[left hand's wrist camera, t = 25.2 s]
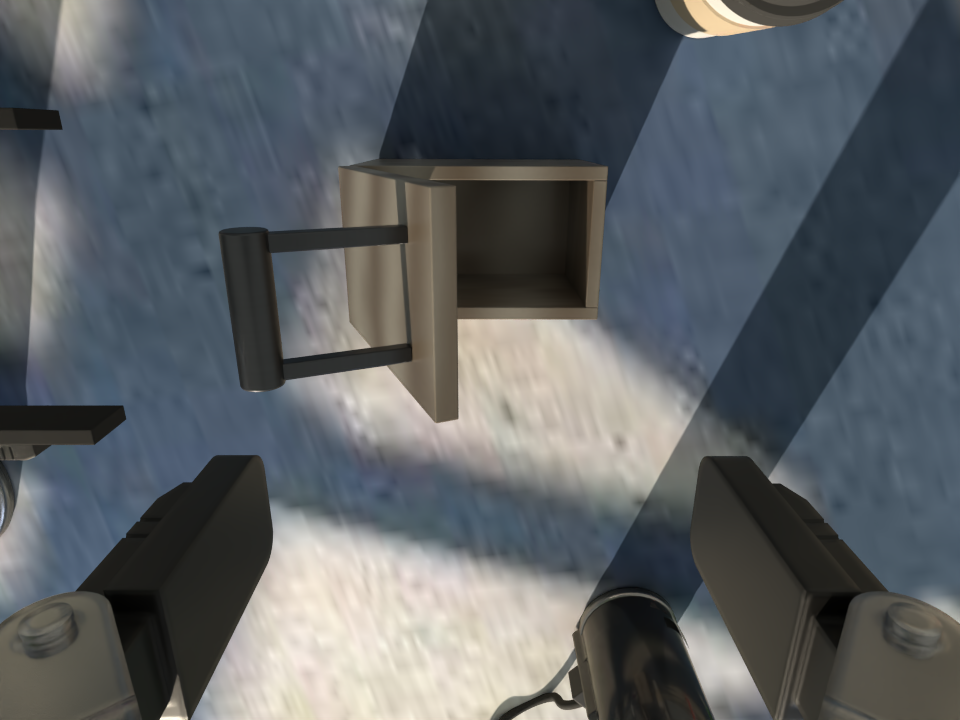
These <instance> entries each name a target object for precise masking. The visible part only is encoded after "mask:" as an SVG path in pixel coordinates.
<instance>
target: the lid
mask: <svg viewBox="0 0 960 720" xmlns="http://www.w3.org/2000/svg"><path fill="white" fill-rule="evenodd" d="M338 169H339V183H340V197H341V210H342V224H343V228H326V229H308V230H290V231H272V232H269V231H268V229H265V228H260V227H238V228H229V229H224V230H221V231H219V240H220V247H221V254H222V261H223V268H224V275H225V282H226V289H227V296H228V303H229V310H230V317H231V324H232V331H233V338H234V345H235V352H236V359H237V366H238V373H239V380H240V386H241V388H242V389H243V390H245V391H249V392H265V391H270V390H274V389H277V388H279V387H281V386H283V385H284V384H285V381H286V380H290V379H297V378H304V377H311V376H317V375H324V374H331V373H338V372H345V371H352V370H359V369H366V368H372V367H379V366H386V365H387V367H388V368H389V369H390V370H391V371H392V372H393V374H394V375H395V376H396V377H397V378H398V380H399V381H400V382H401V383H402V384H403V385H404V387H405V388H406V389H407V390H408V391H409V392H410V394H411V395H412V396H413V397H414V398H415V400H416V401H417V402H418V403H419V404H420V405H421V407H422V408H423V409H424V410H425V411H426V413H427V414H428V415H429V416H430V417H431V418H432V420H433V421H434V422H435V423H440V422H446V421H451V420H456V419H458V332H457V234H456V186H455V185H451V184H446V183H440V182H435V181H430V180H425V179H420V178H415V177H409V176H404V175H399V174H394V173H389V172H384V171H379V170H373V169H368V168H363V167H358V166H339V167H338ZM337 248H344V251H345V265H346V278H347V292H348V305H349V319H350V323H351V324H352V325H353V327H354V328H355V329H356V330H357V331H358V332H359V334H360V335H361V336H362V337H363V338H364V339H365V341H366V342H367V343H368V344H369V345H370V347H371V348H365V349H358V350H350V351H343V352H335V353H328V354H320V355H313V356H305V357H298V358H290V359H283V352H282V343H281V335H280V326H279V317H278V309H277V300H276V291H275V283H274V274H273V265H272V256H271V253H278V252H293V251H307V250H322V249H337Z"/></svg>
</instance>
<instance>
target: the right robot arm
mask: <svg viewBox="0 0 960 720" xmlns="http://www.w3.org/2000/svg"><path fill="white" fill-rule="evenodd" d="M0 130H63V129H62V125H61V120H60V116H59V111H57V110H40V109H24V108H0ZM125 420H126V416H125V411H124V407H123V406H0V460H28V459H30V458H33V457H36V456H37V455H38V454H40V453H41V452H42V451H44V450H45V449H47V448H48V447H49V446H51V445H95V444H96V443H97V442H99V441H100V440H101V439H102V438H103V437H105V436H106V435H107V434H108V433H110V432H111V431H112V430H113V429H115V428H116V427H117V426H118V425H120V424H121V423H122V422H123V421H125ZM13 510H14V493H13V488H12V484H11V481H10V478H9V476H8V474H7V472H6V470H5V468H4V466H3V464H2V463H1V461H0V536H1V535H2V534H3V533H4V532H5V530H6V529H7V527H8V525H9V523H10V521H11V518H12V515H13Z"/></svg>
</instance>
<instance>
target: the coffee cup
mask: <svg viewBox="0 0 960 720" xmlns="http://www.w3.org/2000/svg"><path fill="white" fill-rule="evenodd" d="M842 1H844V0H655V2H656V5H657V8H658V11H659V13H660V15H661V16H662V18H663V19H664V21H665V22H666V23H667V24H668V25H669V26H670V27H671V28H672V29H673V30H675V31H676V32H678V33H680V34H682V35H684V36H688V37H692V38H706V37H711V36H725V35H732V34H738V33H744V32H749V31H755V30H761V29H766V28H772V27H776V26H790V25H795V24H799V23H803V22H806V21H809V20H811V19H813V18H816V17H818V16H820V15H821V14H823V13H825V12H827V11H828V10H829V9H831V8H833V7H834V6H836V5H838V4H839V3H841V2H842Z"/></svg>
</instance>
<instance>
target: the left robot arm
mask: <svg viewBox="0 0 960 720" xmlns="http://www.w3.org/2000/svg"><path fill="white" fill-rule="evenodd" d="M690 542H691V550H692V555H693V559H694V562H695V564H696V567H697V569H698V571H699V573H700V575H701V577H702V579H703V581H704V583H705V585H706V587H707V589H708V591H709V593H710V595H711V597H712V599H713V601H714V603H715V605H716V607H717V609H718V610H719V612H720V614H721V616H722V618H723V620H724V622H725V624H726V626H727V628H728V630H729V632H730V634H731V636H732V638H733V640H734V642H735V644H736V646H737V648H738V650H739V652H740V654H741V656H742V658H743V660H744V662H745V664H746V666H747V668H748V670H749V672H750V674H751V676H752V678H753V680H754V682H755V684H756V686H757V688H758V690H759V692H760V694H761V696H762V698H763V700H764V702H765V704H766V706H767V708H768V710H769V712H770V714H771V716H772V718H773V720H960V624H959V623H958V622H957V621H956V620H954V619H953V618H952V617H950V616H949V615H947V614H946V613H944V612H942V611H941V610H939V609H937V608H935V607H933V606H931V605H929V604H927V603H925V602H923V601H920V600H918V599H915V598H912V597H909V596H906V595H902V594H897V593H892V592H889V591H888V590H887V589H886V588H885V587H884V586H883V585H882V584H881V583H880V581H879V580H878V579H877V578H876V577H875V576H874V575H873V574H872V572H871V571H870V570H869V569H868V568H867V567H866V566H865V565H864V564H863V562H862V561H861V560H860V559H859V558H858V557H857V556H856V555H855V553H854V552H853V551H852V550H851V549H850V548H849V547H848V546H847V545H846V543H845V542H844V541H843V540H839V538H838V534H837V533H836V532H835V531H834V530H833V529H832V528H831V527H830V526H829V524H828V523H824V519H823V518H822V517H821V515H820V514H819V513H818V512H817V511H816V510H815V509H814V508H813V507H812V505H811V504H810V503H809V502H808V501H807V500H806V499H804V498H803V497H801V496H799V495H798V494H796V493H795V492H793V491H791V490H790V489H788V488H787V487H785V486H783V485H782V484H772V483H771V482H770V481H769V480H768V478H767V477H766V476H765V475H764V474H763V472H762V471H761V470H760V469H759V468H758V466H757V465H756V464H755V463H754V462H753V460H752V459H751V458H749V457H747V456H706V457H704V458H703V459H702V461H701V463H700V466H699V472H698V479H697V486H696V493H695V500H694V507H693V514H692V522H691V529H690ZM272 543H273V527H272V519H271V512H270V505H269V497H268V490H267V483H266V476H265V469H264V464H263V461H262V459H261V457H260V456H258V455H216V456H214V457H213V458H212V459H211V460H210V461H209V463H208V464H207V465H206V466H205V467H204V469H203V470H202V471H201V472H200V473H199V475H198V476H197V477H196V478H195V480H194V481H193V482H183V483H182V484H180V485H179V486H177V487H175V488H174V489H172V490H171V491H169V492H167V493H166V494H164V495H163V496H161V497H159V498H158V499H157V500H156V501H155V502H154V503H153V504H152V505H151V507H150V508H149V509H148V510H147V511H146V512H145V513H144V514H143V516H142V517H141V518H140V522H136V523H135V525H134V526H133V527H132V528H131V529H130V530H129V531H128V532H127V534H126V538H122V539H121V540H120V541H119V543H118V544H117V545H116V546H115V547H114V548H113V549H112V551H111V552H110V553H109V554H108V555H107V556H106V557H105V558H104V560H103V561H102V562H101V563H100V564H99V565H98V566H97V567H96V569H95V570H94V571H93V572H92V573H91V574H90V575H89V576H88V578H87V579H86V580H85V581H84V582H83V583H82V584H81V585H80V587H79V588H78V589H77V590H76V591H75V592H68V593H63V594H58V595H54V596H51V597H48V598H45V599H42V600H40V601H37V602H35V603H33V604H31V605H29V606H27V607H25V608H23V609H21V610H19V611H18V612H16V613H14V614H13V615H11V616H10V617H8V618H7V619H6V620H4V621H3V622H2V623H1V624H0V720H190V719H191V717H192V715H193V713H194V711H195V709H196V707H197V705H198V703H199V701H200V699H201V697H202V695H203V693H204V691H205V689H206V687H207V685H208V683H209V681H210V679H211V677H212V675H213V673H214V671H215V669H216V667H217V665H218V663H219V661H220V659H221V657H222V655H223V653H224V651H225V649H226V647H227V645H228V643H229V641H230V639H231V637H232V635H233V632H234V630H235V628H236V626H237V624H238V622H239V620H240V618H241V616H242V614H243V612H244V610H245V608H246V606H247V604H248V602H249V600H250V598H251V596H252V594H253V592H254V590H255V588H256V586H257V584H258V582H259V580H260V578H261V576H262V574H263V572H264V570H265V568H266V566H267V564H268V561H269V558H270V555H271V550H272ZM680 633H681V634H680ZM681 635H682V636H681ZM572 636H573V641H574V647H575V652H576V658H577V663H578V665H577V666H576V667H575V668H573V669H572V670H571V671H569V672H568V674H569V680H570V686H571V692H572V698H573V699H574V700H569V701H566V700H563V699H562V697H561V696H560V695H559V694H557V693H555V692H553V693H547V694H543V695H541V696H539V697H536V698H534V699H532V700H530V701H528V702H526V703H523V704H521V705H519V706H517V707H515V708H513V709H511V710H510V711H508V712H507V713H506V714H504V715H503V716H502V717H501V718H500V719H499V720H512V719H513V718H515V717H516V716H518V715H519V714H521V713H522V712H524V711H526V710H528V709H530V708H532V707H535V706H537V705H540V704H543V703H546V702H551V701H554V702H555V703H556V705H557V706H558V707H559V708H561V709H563V710H571V709H576V708H580V707H584V708H585V709H586V712H587V717H588V719H589V720H715V719H714V716H713V714H712V711H711V709H710V706H709V704H708V701H707V699H706V696H705V694H704V691H703V689H702V686H701V684H700V681H699V679H698V676H697V674H696V671H695V669H694V666H693V664H692V661H691V659H690V656H689V654H688V651H687V649H686V646H685V644H684V641H683V639H684V640H685V642H686V639H685V637H684V635H683V633H682V632H681V630H680V628H679V626H678V624H677V621H676V618H675V616H674V613H673V611H672V609H671V607H670V606H669V604H668V603H667V602H666V601H665V600H664V599H663V598H662V597H661V596H659V595H657V594H656V593H654V592H651V591H648V590H645V589H640V588H622V589H617V590H613V591H610V592H607V593H605V594H603V595H601V596H600V597H598V598H597V599H595V600H594V601H593V602H592V603H591V604H590V605H589V606H588V607H587V608H586V609H585V611H584V613H583V615H582V617H581V619H580V624H579V629H578V630H577V631H576V632H574V633H573V635H572ZM682 637H683V639H682ZM686 644H687V642H686ZM687 646H688V644H687ZM688 648H689V647H688Z"/></svg>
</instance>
